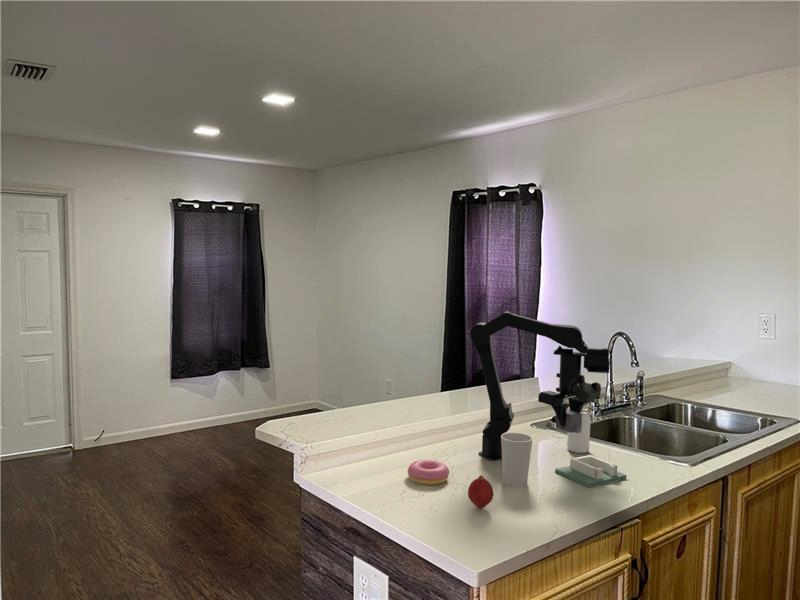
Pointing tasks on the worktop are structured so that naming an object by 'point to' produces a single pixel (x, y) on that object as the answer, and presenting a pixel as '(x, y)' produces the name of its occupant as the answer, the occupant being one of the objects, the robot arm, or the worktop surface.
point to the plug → (571, 422)
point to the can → (580, 436)
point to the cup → (515, 458)
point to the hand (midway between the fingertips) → (568, 425)
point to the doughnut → (428, 472)
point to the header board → (591, 471)
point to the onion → (480, 492)
